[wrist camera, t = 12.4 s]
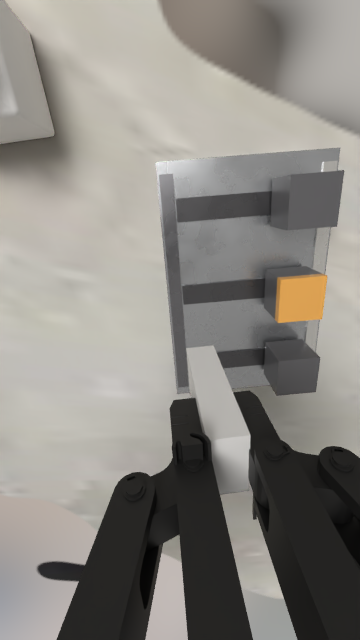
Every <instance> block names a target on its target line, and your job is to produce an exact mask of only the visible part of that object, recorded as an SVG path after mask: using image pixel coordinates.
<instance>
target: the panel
mask: <svg viewBox="0 0 360 640" xmlns="http://www.w3.org/2000/svg"><path fill="white" fill-rule="evenodd" d="M339 154H340V148H329V149H316V150H303V151H290V152H278V153H265V154H252V155H239V156H226V157H213V158H200V159H188V160H175V161H162V162H155V163H156V174H157V185H158V195H159V206H160V216H161V227H162V238H163V248H164V259H165V269H166V280H167V290H168V301H169V312H170V322H171V333H172V343H173V354H174V365H175V375H176V386H177V394H180V393H190V390H189V377H188V364H187V351H186V348H193V347H203V346H212V345H214V348H215V350H216V353H217V355H218V358H219V360H220V362H221V365H222V367H223V370H224V372H225V375H226V377H227V379H228V382H229V384H230V387H231V389H233V388H244V387H255V386H265V385H270V383H269V382H268V380H267V378H266V377H265V375H264V360H265V342H274V341H285V340H296V339H302V340H303V341H304V342H305V343H306V344H307V345H308V346H309V347H310V348H311V349H312V350H313V351H314V352H315V353H316V345H317V337H318V329H319V321H320V319H318V320H307V321H296V322H285V323H278V322H277V321H276V320H275V319H274V318H273V317H272V316H271V315H270V314H269V313H268V312H267V311H266V310H265V308H264V295H265V270H266V269H277V268H289V267H300V266H307V267H309V268H311V269H314V270H316V271H318V272H320V273H322V274H325V271H326V262H327V254H328V246H329V237H330V229H331V227H324V228H312V229H300V230H288V231H287V230H283V229H279V228H275V227H271V226H270V222H271V199H272V178H277V177H281V176H286V175H291V174H304V173H317V172H329V171H338V162H339Z"/></svg>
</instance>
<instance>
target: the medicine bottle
mask: <svg viewBox="0 0 360 640" xmlns="http://www.w3.org/2000/svg"><path fill="white" fill-rule="evenodd" d="M54 134H55V132H54V128H53V124H52V120H51V116H50V112H49V108H48V104H47V100H46V96H45V92H44V88H43V85H42V81H41V77H40V73H39V69H38V65H37V61H36V57H35V53H34V49H33V45H32V41H31V37H30V34H29V31H28V29H27V28H26V27H25V26H24V24H23V23H22V22H21V21H20V19H19V18H18V17H17V16H16V14H15V13H14V12H13V11H12V9H11V8H10V7H9V6H8V4H7V3H6V2H5V0H0V144H4V143H11V142H18V141H25V140H32V139H39V138H46V137H52V136H54Z"/></svg>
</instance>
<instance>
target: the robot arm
mask: <svg viewBox="0 0 360 640" xmlns="http://www.w3.org/2000/svg"><path fill="white" fill-rule="evenodd" d="M186 351H187V364H188V377H189V390H190V395H191V398H189V399H181V400H174V401H173V403H172V405H171V407H170V417H171V430H172V442H173V444H172V453H173V458H172V461H171V463H170V464H169V466H168V467H167V468H166V469H164V470H163V471H161V472H160V473H158V474H155V475H153V476H151V477H150V476H149V475H148V474H145V473H142V472H135V473H131V474H129V475H126V476H125V477H123V478H122V479H121V480H120V481H119V482H118V484H117V485H116V487H115V489H114V492H113V494H112V497H111V500H110V502H109V505H108V507H107V510H106V513H105V515H104V518H103V520H102V523H101V526H100V528H99V531H98V533H97V536H96V539H95V541H94V544H93V546H92V549H91V552H90V554H89V557H88V560H87V562H86V565H85V567H84V570H83V572H82V575H81V578H80V580H79V583H78V585H77V588H76V591H75V594H74V596H73V598H72V601H71V604H70V606H69V609H68V612H67V614H66V617H65V620H64V622H63V624H62V627H61V630H60V632H59V635H58V638H57V640H145V637H146V632H147V627H148V621H149V616H150V611H151V605H152V600H153V595H154V589H155V584H156V578H157V573H158V567H159V562H160V557H161V552H162V546H163V543H164V542H166V541H168V540H170V539H172V538H174V537H175V536H177V535H179V534H180V546H181V559H182V571H183V583H184V596H185V608H186V620H187V631H188V640H253V638H252V633H251V629H250V625H249V620H248V616H247V612H246V607H245V603H244V598H243V594H242V590H241V585H240V581H239V577H238V572H237V568H236V563H235V559H234V555H233V550H232V546H231V542H230V537H229V533H228V528H227V524H226V520H225V515H224V511H223V507H222V502H221V498H220V494H228V493H235V492H243V491H249V482H250V485H251V487H252V490H253V520H254V519H256V516H257V517H258V520H259V523H260V526H261V529H262V532H263V535H264V538H265V541H266V544H267V547H268V550H269V554H270V557H271V560H272V563H273V566H274V569H275V572H276V575H277V578H278V581H279V584H280V587H281V590H282V593H283V596H284V600H285V602H286V606H287V609H288V612H289V615H290V618H291V621H292V624H293V627H294V630H295V633H296V636H297V639H298V640H360V458H359V457H358V456H357V455H355V454H354V453H352V452H351V451H349V450H347V449H344V448H342V447H336V446H331V447H326V448H324V449H323V450H321V452H320V455H319V456H318V455H311V454H304V453H300V452H297V451H294V450H292V449H291V447H290V446H289V445H288V444H287V443H285V442H283V441H282V440H280V438H279V436H278V435H277V433H276V431H275V429H274V427H273V425H272V423H271V421H270V419H269V418H268V416H267V414H266V412H265V410H264V408H263V407H262V404H261V402H260V400H259V399H258V397H257V396H256V395H254V394H253V393H252V392H251V391H243V392H234V393H233V391H232V389H231V387H230V384H229V382H228V379H227V377H226V375H225V372H224V370H223V367H222V365H221V362H220V360H219V358H218V355H217V353H216V350H215V348H214V345H212V346H203V347H193V348H186Z"/></svg>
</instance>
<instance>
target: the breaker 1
mask: <svg viewBox="0 0 360 640" xmlns="http://www.w3.org/2000/svg"><path fill="white" fill-rule="evenodd" d="M343 175H344V170H342V171H329V172H317V173H304V174H291V175H286V176H281V177H277V178H272V199H271V222H270V226H271V227H275V228H279V229H283V230H287V231H288V230H300V229H312V228H324V227H336V226H337V222H338V214H339V207H340V199H341V191H342V183H343Z"/></svg>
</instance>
